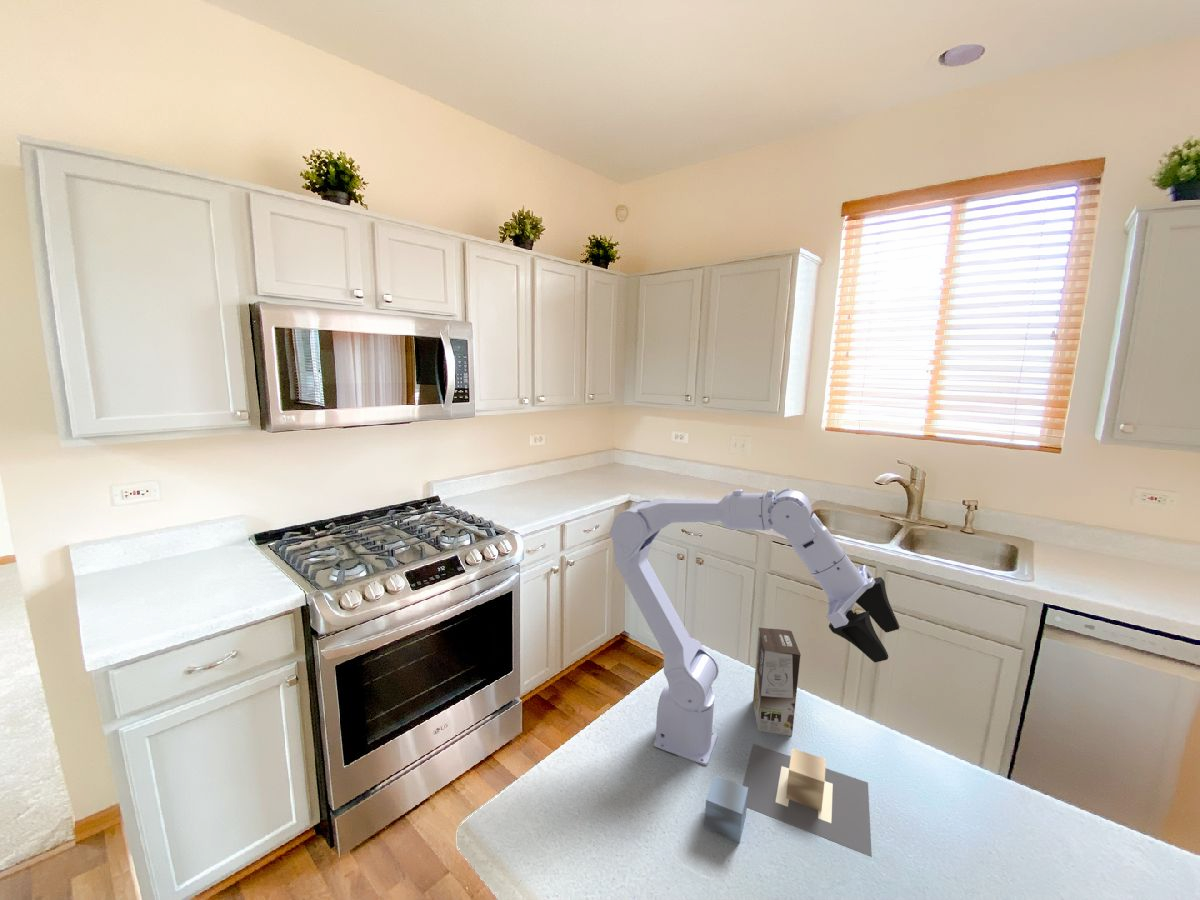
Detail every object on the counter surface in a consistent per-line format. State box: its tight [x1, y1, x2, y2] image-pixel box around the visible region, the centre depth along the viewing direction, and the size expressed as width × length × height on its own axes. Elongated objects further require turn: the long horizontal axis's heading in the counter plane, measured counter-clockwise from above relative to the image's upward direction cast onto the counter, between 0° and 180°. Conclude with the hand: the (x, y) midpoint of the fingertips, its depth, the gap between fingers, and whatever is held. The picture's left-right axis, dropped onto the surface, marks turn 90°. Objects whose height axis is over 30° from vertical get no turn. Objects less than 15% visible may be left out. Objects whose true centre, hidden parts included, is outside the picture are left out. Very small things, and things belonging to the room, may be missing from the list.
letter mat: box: [742, 743, 873, 858], centre depth 78 cm, size 18×14×1 cm
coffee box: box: [752, 627, 802, 737], centre depth 94 cm, size 9×6×16 cm
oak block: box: [786, 747, 827, 811], centre depth 78 cm, size 5×5×5 cm
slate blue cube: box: [703, 774, 748, 844], centre depth 72 cm, size 5×5×5 cm
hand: (887, 644), depth 71 cm, fingers open, 7 cm apart
